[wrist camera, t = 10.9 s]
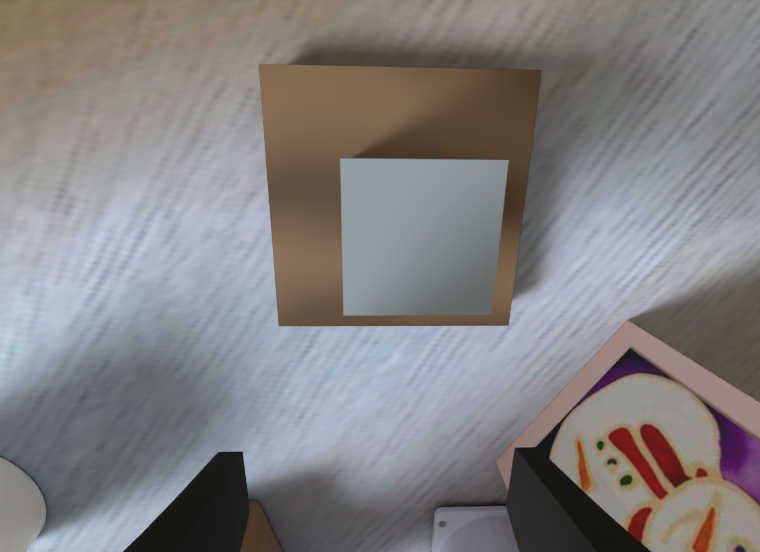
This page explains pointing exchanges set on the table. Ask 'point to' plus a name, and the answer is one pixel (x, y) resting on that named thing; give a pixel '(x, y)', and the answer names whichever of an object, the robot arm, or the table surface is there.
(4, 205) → the table surface
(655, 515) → the greeting card
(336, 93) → the walnut base
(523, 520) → the robot arm
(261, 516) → the wooden block
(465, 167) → the slate block
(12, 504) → the candle holder
